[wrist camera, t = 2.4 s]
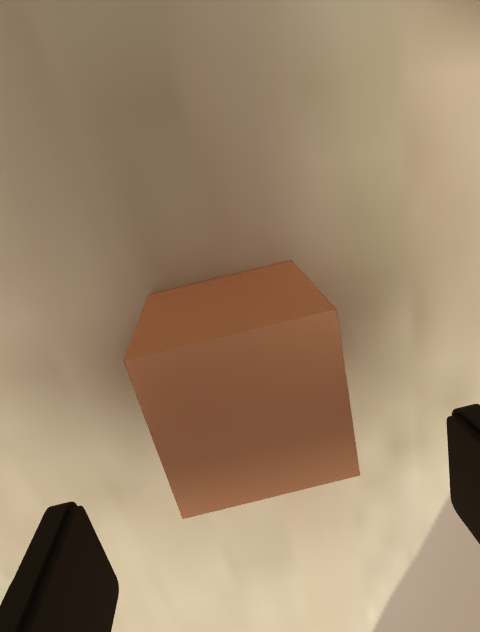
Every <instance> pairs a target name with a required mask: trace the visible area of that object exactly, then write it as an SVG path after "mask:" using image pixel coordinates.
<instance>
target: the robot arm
mask: <svg viewBox="0 0 480 632" xmlns="http://www.w3.org/2000/svg"><path fill="white" fill-rule="evenodd" d="M447 436H448V455H449V474H450V493H451V501H452V504H453V506H454V509H455V510H456V512H457V514H458V515H459V517H460V518H461V519H462V521H463V522H464V523H465V525H466V526H467V527H468V529H469V530H470V531H471V533H472V534H473V536H474V537H475V538H476V539H477V541H478V542H479V544H480V405H479V404H473V405H469V406H465V407H461V408H457V409H454V410H453V412H452V416H449V417H448V418H447ZM118 594H119V586H118V580H117V577H116V575H115V573H114V571H113V569H112V567H111V564H110V562H109V560H108V558H107V556H106V554H105V552H104V550H103V547H102V545H101V543H100V541H99V539H98V537H97V535H96V533H95V530H94V528H93V526H92V524H91V522H90V520H89V518H88V515H87V513H86V511H85V509H84V508H83V507H82V506H77V505H76V503H74V502H67V503H63V504H59V505H55V506H51V507H49V508H47V510H46V511H45V513H44V515H43V517H42V520H41V522H40V524H39V526H38V528H37V530H36V532H35V535H34V537H33V539H32V541H31V543H30V545H29V547H28V549H27V552H26V554H25V556H24V558H23V560H22V562H21V564H20V566H19V569H18V571H17V573H16V575H15V577H14V579H13V581H12V583H11V584H10V586H9V588H8V590H7V593H6V595H5V597H4V599H3V601H2V603H1V605H0V632H111V629H112V624H113V619H114V614H115V609H116V604H117V599H118Z"/></svg>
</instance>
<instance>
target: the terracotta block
mask: <svg viewBox="0 0 480 632" xmlns="http://www.w3.org/2000/svg"><path fill="white" fill-rule="evenodd" d="M124 363H125V366H126V369H127V371H128V374H129V377H130V379H131V382H132V385H133V387H134V390H135V393H136V396H137V398H138V401H139V404H140V406H141V409H142V412H143V414H144V417H145V420H146V422H147V425H148V428H149V430H150V433H151V436H152V438H153V441H154V444H155V446H156V449H157V452H158V454H159V457H160V460H161V462H162V465H163V468H164V470H165V473H166V476H167V478H168V481H169V484H170V486H171V489H172V492H173V494H174V497H175V500H176V502H177V505H178V508H179V510H180V513H181V516H182V518H183V519H185V518H189V517H193V516H197V515H201V514H205V513H209V512H213V511H217V510H221V509H225V508H229V507H233V506H237V505H241V504H246V503H250V502H254V501H258V500H262V499H266V498H270V497H274V496H278V495H282V494H286V493H290V492H294V491H298V490H302V489H306V488H310V487H314V486H318V485H323V484H327V483H331V482H335V481H339V480H343V479H347V478H351V477H355V476H359V475H360V471H359V464H358V457H357V450H356V443H355V436H354V429H353V422H352V415H351V408H350V401H349V394H348V387H347V380H346V373H345V366H344V359H343V352H342V345H341V338H340V331H339V324H338V317H337V310H336V308H335V307H334V306H333V305H332V304H331V303H330V302H329V301H328V300H327V299H326V297H325V296H324V295H323V294H322V293H321V292H320V291H319V290H318V289H317V288H316V287H315V286H314V285H313V283H312V282H311V281H310V280H309V279H308V278H307V277H306V276H305V275H304V274H303V273H302V272H301V271H300V269H299V268H298V267H297V266H296V265H295V264H294V263H293V262H292V261H291V260H290V261H286V262H282V263H278V264H274V265H269V266H265V267H261V268H257V269H253V270H249V271H245V272H241V273H236V274H232V275H228V276H224V277H220V278H216V279H212V280H208V281H203V282H199V283H195V284H191V285H187V286H183V287H179V288H175V289H170V290H166V291H162V292H158V293H154V294H150V295H149V296H148V298H147V301H146V304H145V306H144V309H143V311H142V314H141V317H140V319H139V322H138V325H137V327H136V330H135V332H134V335H133V338H132V340H131V343H130V346H129V348H128V351H127V353H126V356H125V359H124Z"/></svg>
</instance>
